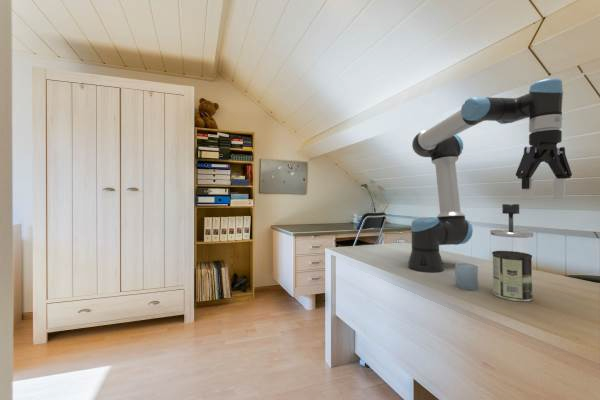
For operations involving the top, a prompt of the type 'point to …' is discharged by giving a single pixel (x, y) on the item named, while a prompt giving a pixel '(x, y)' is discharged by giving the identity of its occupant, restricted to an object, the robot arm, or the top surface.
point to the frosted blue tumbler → (466, 276)
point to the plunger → (511, 223)
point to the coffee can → (512, 275)
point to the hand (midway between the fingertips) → (543, 199)
